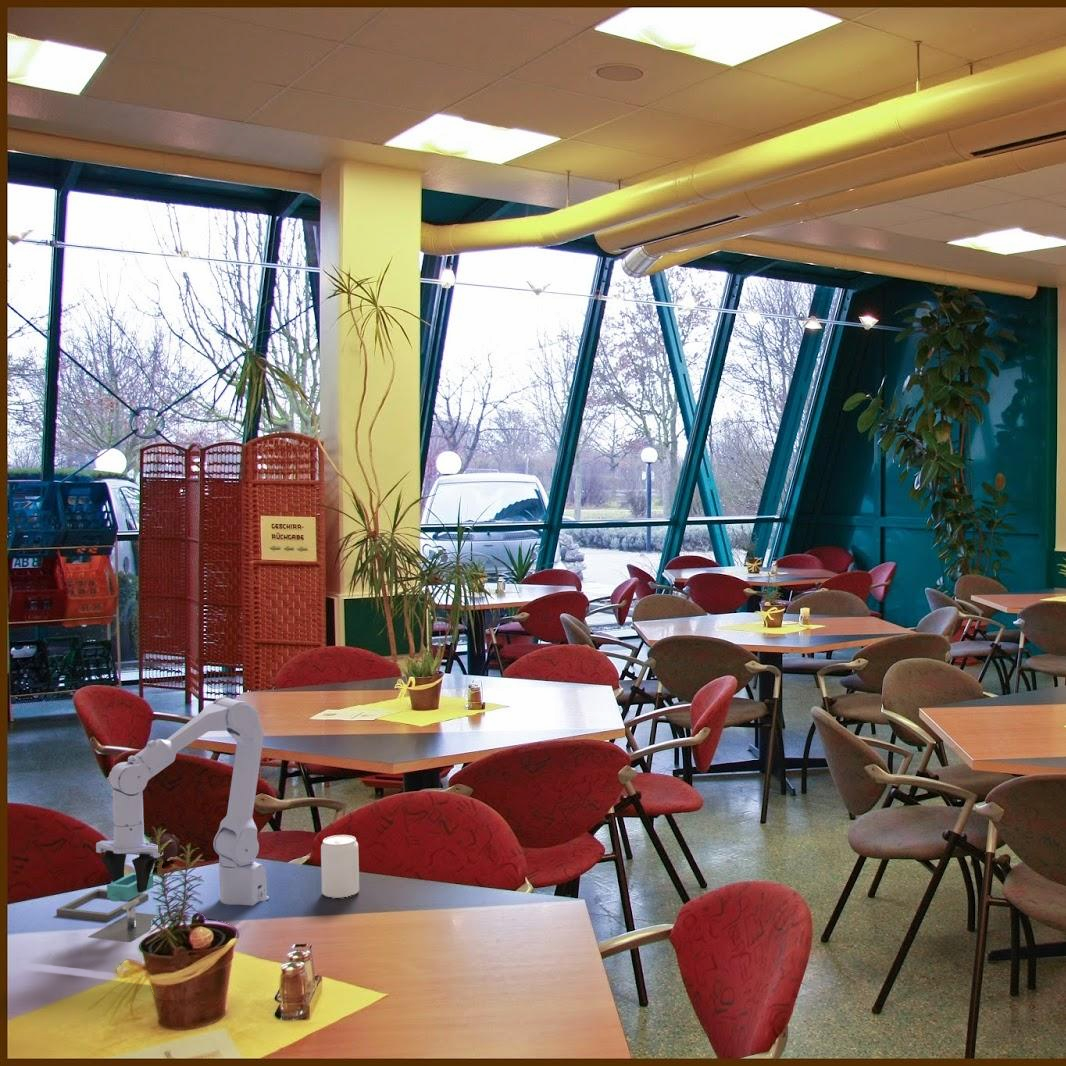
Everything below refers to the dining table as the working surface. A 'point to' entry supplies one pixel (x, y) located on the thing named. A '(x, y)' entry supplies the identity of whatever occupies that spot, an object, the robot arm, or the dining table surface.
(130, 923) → the stand
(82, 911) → the tray
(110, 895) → the teal open-top box
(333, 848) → the beverage can
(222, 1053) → the dining table surface
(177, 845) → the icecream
